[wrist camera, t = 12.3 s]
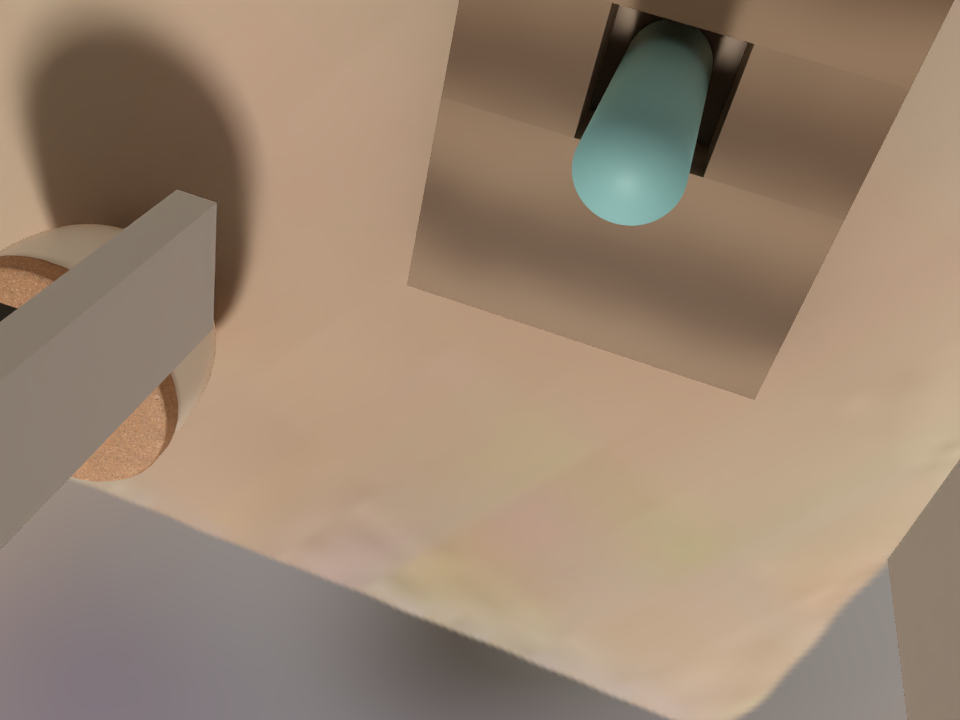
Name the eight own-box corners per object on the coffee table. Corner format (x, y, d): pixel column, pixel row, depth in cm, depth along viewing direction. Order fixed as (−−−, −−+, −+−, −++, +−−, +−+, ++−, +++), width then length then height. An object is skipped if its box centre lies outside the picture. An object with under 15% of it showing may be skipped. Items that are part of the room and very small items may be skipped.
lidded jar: (113, 139, 40) (-44, 232, 32) (297, 311, 42) (191, 434, 35) (17, 274, 46) (-134, 379, 38) (183, 418, 48) (71, 543, 40)
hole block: (546, -339, 26) (523, -346, 24) (1032, -215, 25) (1059, -211, 23) (430, 251, 38) (407, 285, 36) (756, 357, 37) (754, 399, 34)
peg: (638, 9, 31) (586, 101, 23) (725, 31, 31) (704, 132, 23) (615, 94, 33) (560, 208, 25) (697, 116, 32) (668, 238, 24)
